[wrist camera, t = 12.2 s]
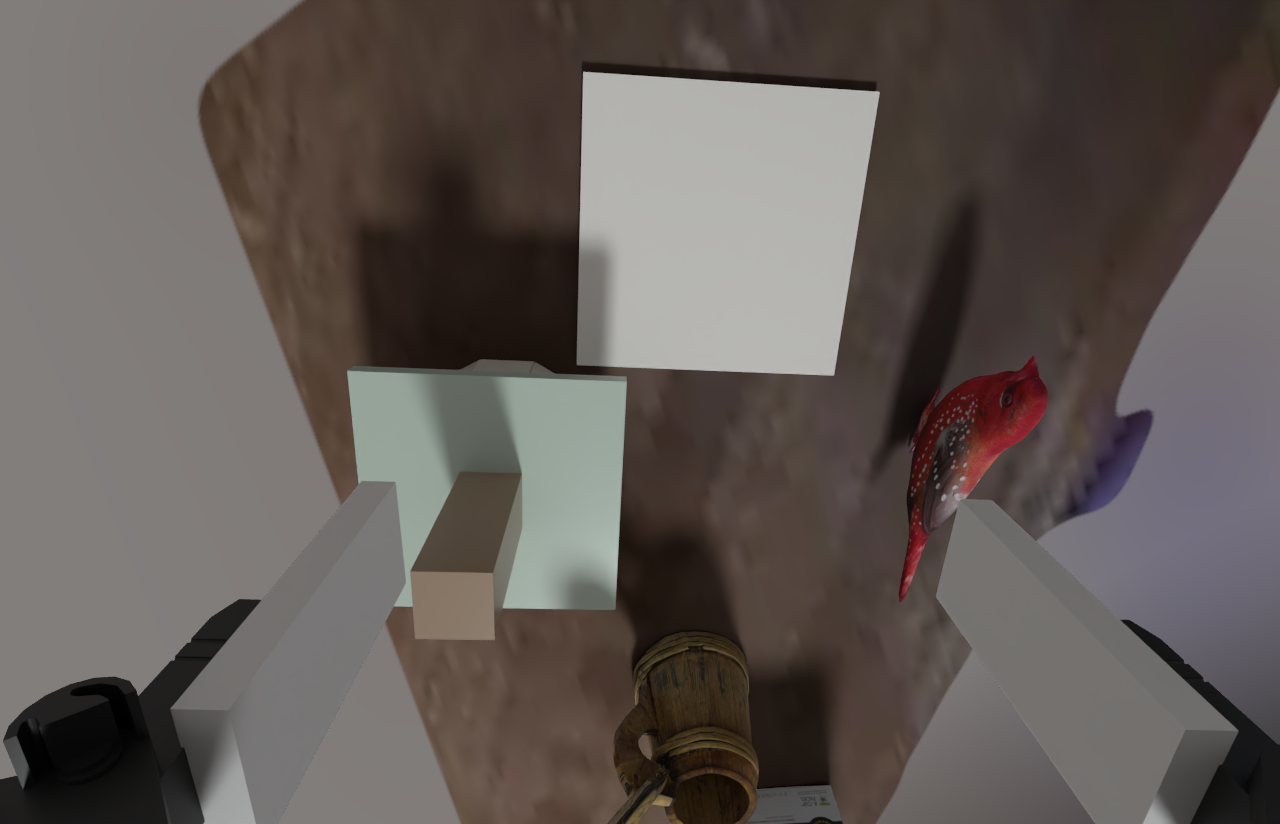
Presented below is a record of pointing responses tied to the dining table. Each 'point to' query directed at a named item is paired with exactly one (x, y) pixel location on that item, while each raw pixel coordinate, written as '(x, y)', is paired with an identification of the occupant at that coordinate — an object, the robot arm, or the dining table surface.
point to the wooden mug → (689, 734)
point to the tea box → (796, 806)
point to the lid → (495, 488)
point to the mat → (718, 222)
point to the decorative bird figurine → (965, 447)
